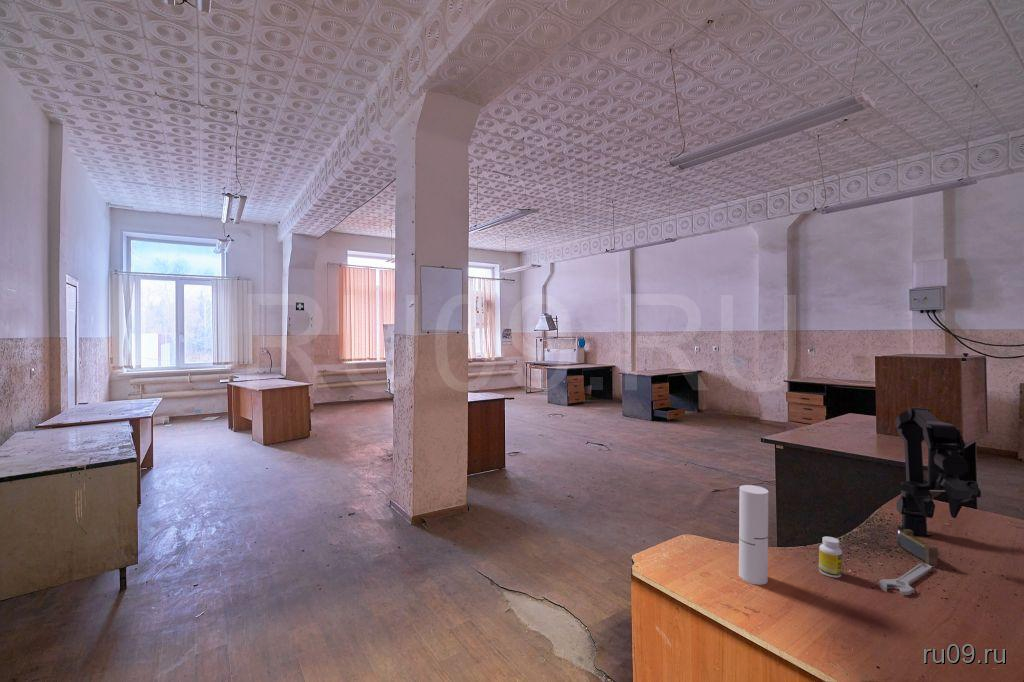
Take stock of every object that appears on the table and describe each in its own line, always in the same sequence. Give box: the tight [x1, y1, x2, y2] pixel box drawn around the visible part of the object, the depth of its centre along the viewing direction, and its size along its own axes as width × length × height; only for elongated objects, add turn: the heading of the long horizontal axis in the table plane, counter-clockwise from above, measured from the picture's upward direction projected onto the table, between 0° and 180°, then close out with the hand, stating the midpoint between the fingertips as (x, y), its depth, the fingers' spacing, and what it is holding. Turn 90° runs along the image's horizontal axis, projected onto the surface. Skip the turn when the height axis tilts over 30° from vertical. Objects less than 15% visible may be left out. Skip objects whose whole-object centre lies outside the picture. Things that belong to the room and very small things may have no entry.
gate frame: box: [903, 529, 939, 567], centre depth 141 cm, size 14×3×6 cm, turn 166°
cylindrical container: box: [738, 484, 769, 586], centre depth 128 cm, size 7×7×25 cm
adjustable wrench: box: [879, 562, 933, 596], centre depth 127 cm, size 25×6×2 cm, turn 116°
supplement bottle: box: [818, 536, 843, 579], centre depth 131 cm, size 5×5×10 cm
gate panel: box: [896, 528, 931, 562], centre depth 142 cm, size 11×2×5 cm, turn 176°
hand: (939, 517), depth 138 cm, fingers open, 8 cm apart
